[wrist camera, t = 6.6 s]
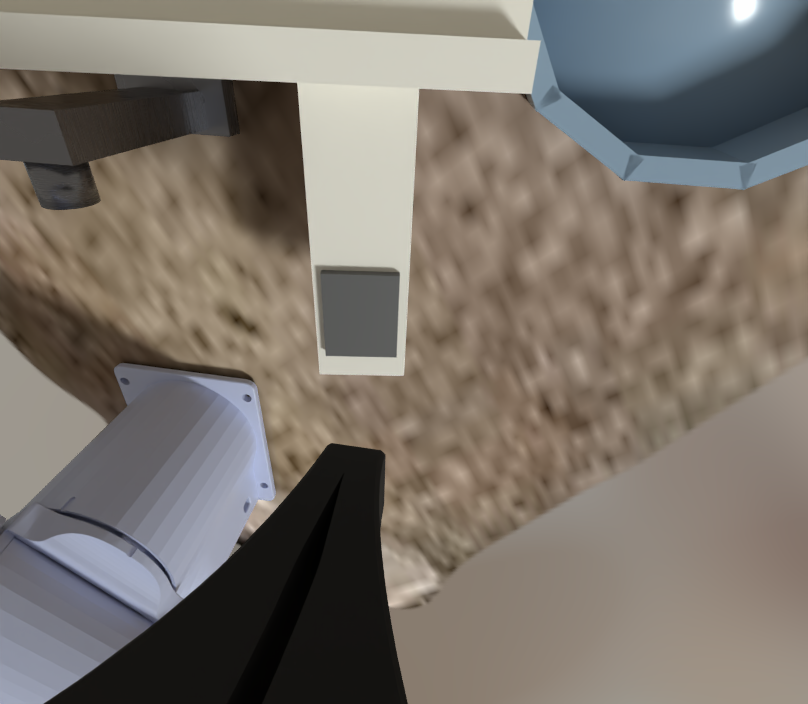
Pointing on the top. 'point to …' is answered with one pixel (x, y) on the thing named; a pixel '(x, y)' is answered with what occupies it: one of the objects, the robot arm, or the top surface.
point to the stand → (107, 129)
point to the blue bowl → (677, 86)
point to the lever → (312, 114)
